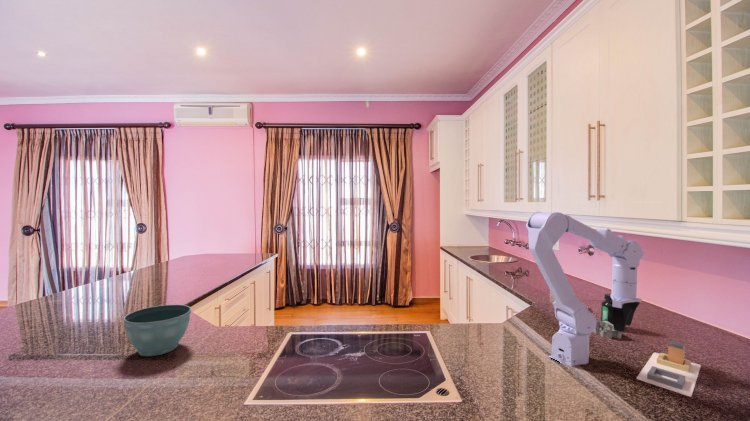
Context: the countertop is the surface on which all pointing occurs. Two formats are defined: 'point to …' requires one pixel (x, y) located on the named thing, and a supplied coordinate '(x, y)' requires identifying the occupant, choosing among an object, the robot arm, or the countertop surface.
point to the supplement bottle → (604, 311)
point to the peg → (676, 352)
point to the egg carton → (607, 330)
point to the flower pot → (157, 328)
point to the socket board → (670, 374)
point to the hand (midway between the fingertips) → (622, 327)
